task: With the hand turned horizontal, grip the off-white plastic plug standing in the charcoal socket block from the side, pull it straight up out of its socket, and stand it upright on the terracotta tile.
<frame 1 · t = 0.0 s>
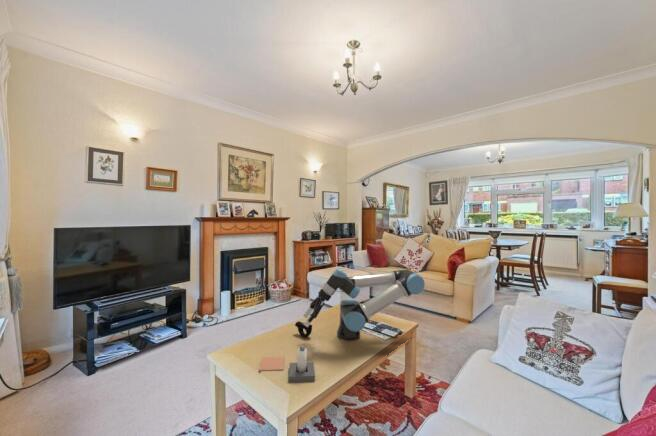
hand: (305, 321, 163), 15 cm above the table, tool tilted 35°, fingers open, 13 cm apart
tile: (272, 365, 143), on the table
plug: (301, 374, 135), resting on socket block
controller: (303, 336, 178), on the table
socket block: (301, 375, 135), on the table
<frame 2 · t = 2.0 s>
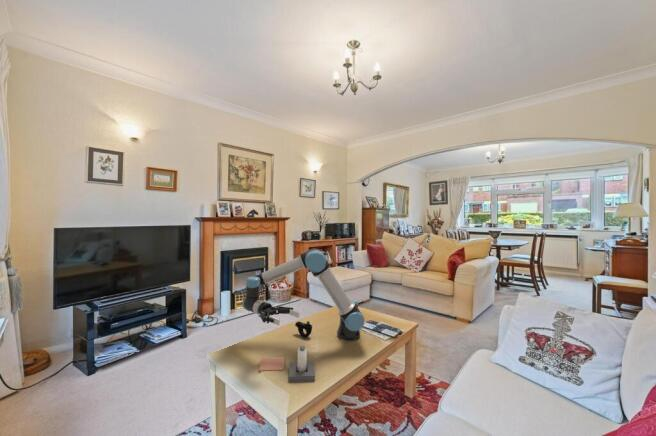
hand: (289, 318, 140), 25 cm above the table, tool horizontal, fingers open, 13 cm apart
nothing on the table moved.
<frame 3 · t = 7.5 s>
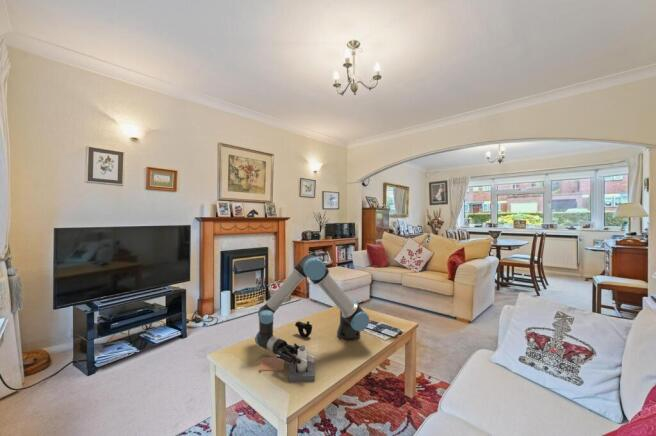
hand: (310, 361, 131), 8 cm above the table, tool horizontal, fingers closed on plug, 4 cm apart
plug: (301, 374, 135), resting on socket block, touching gripper
everything else where it was.
when the fingers open (10 cm above the table, at t = 12.5 s): plug stays where it is, resting on tile.
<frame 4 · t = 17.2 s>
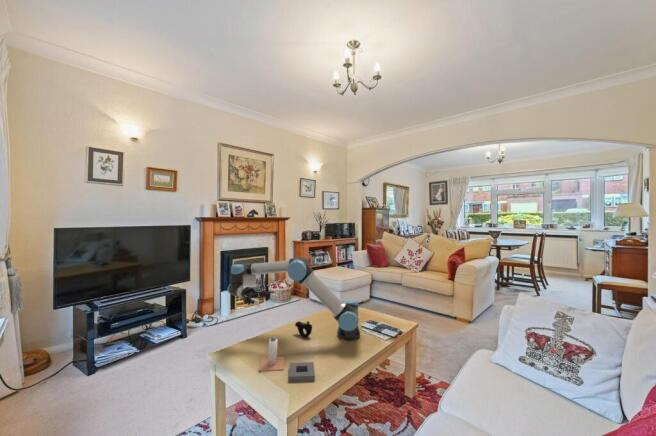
hand: (268, 300, 154), 30 cm above the table, tool horizontal, fingers open, 13 cm apart
plug: (272, 363, 143), point 1 cm above the table, touching tile
everything else where it was.
at the end: plug inside the target area on the tile (0.0 cm from its centre), point 1.0 cm above the tile's base; plug tilted 1°; the gripper is holding nothing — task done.
